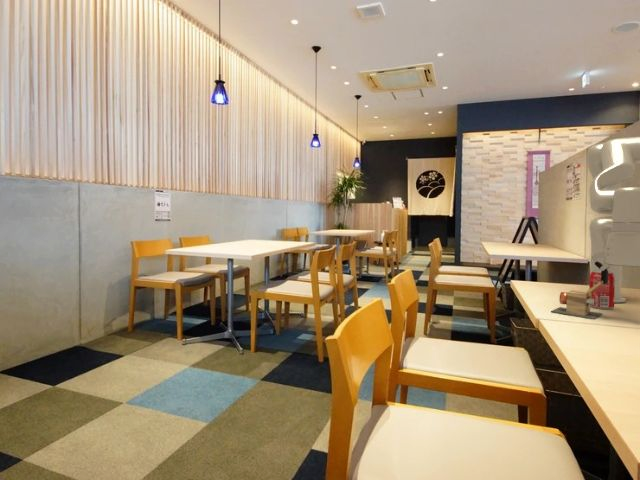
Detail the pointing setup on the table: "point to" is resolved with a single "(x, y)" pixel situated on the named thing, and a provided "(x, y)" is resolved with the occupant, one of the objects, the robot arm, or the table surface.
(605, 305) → the soda can
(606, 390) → the table surface
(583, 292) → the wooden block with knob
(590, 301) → the pin
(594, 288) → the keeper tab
